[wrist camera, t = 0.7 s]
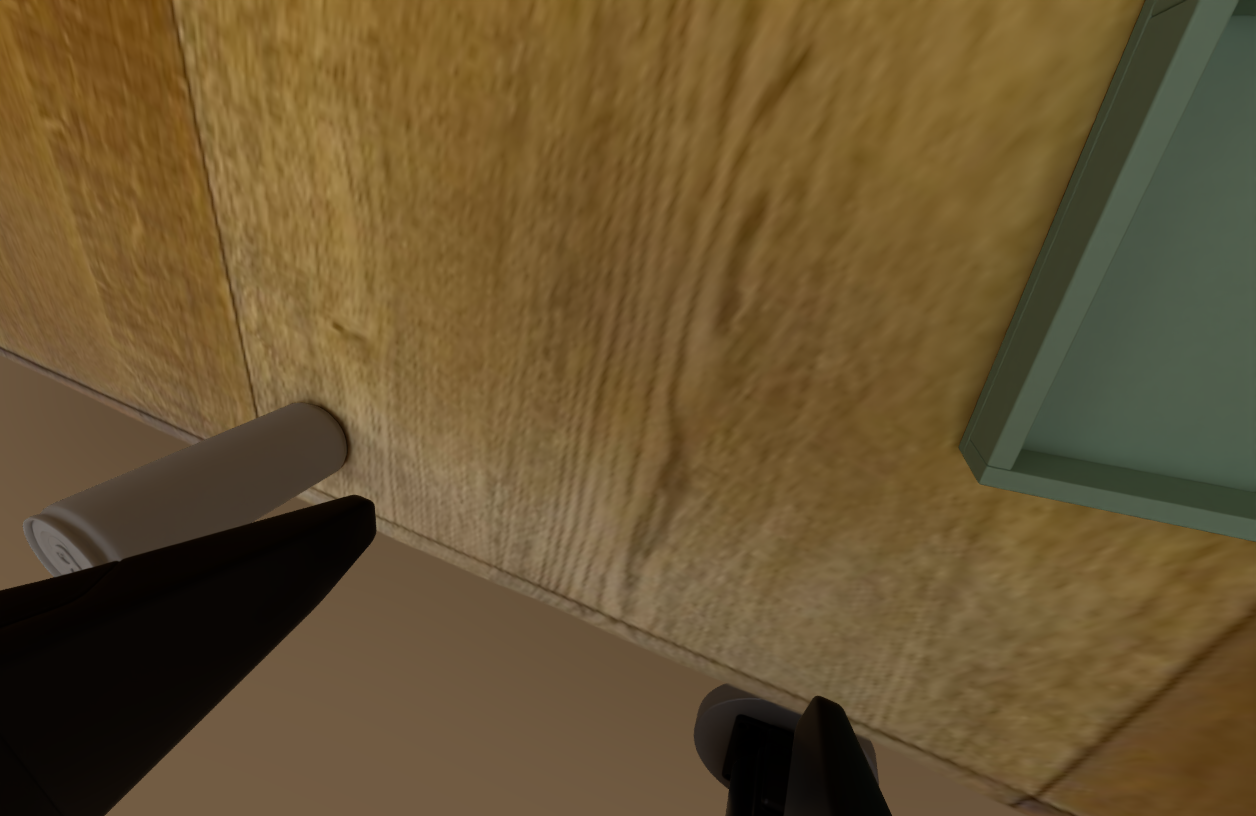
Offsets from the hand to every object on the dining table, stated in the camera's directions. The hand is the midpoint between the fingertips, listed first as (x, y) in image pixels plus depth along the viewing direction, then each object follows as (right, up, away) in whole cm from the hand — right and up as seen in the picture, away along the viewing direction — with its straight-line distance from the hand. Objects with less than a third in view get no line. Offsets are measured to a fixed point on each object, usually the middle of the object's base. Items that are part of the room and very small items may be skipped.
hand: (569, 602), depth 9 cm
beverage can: (-18, +2, +21) cm, 28 cm away
